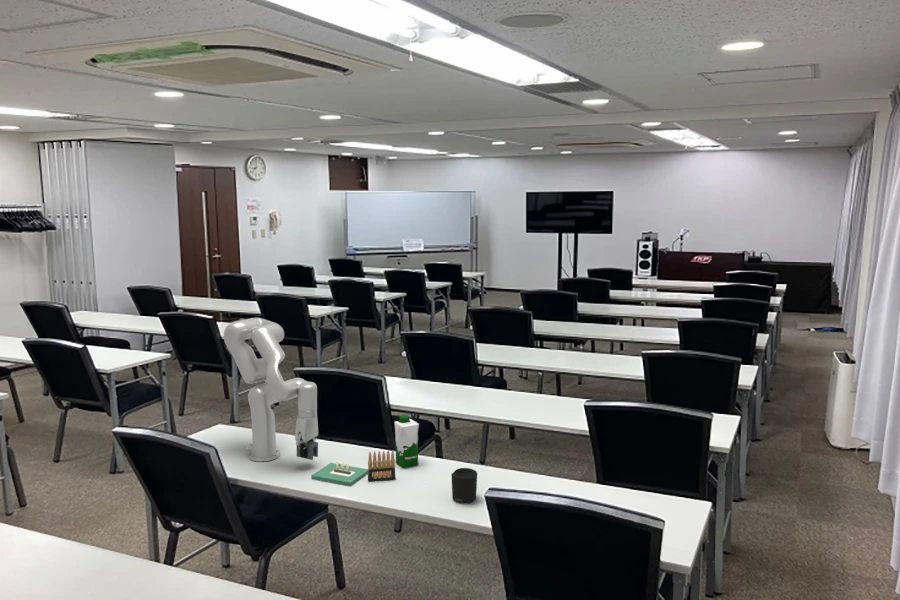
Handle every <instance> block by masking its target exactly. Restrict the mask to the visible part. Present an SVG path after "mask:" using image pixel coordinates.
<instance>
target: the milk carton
mask: <svg viewBox="0 0 900 600" xmlns="http://www.w3.org/2000/svg"><path fill="white" fill-rule="evenodd" d="M419 426H420V423H418V422H417V421H415V420H413V419H412V418H410V416H409V415H407V414H402V415H399V420H397V421H396V420H395V421H394V431H395V433H394V435H395V438H394V439H395V465H398V466H399V467H400V468H402V469H405V470H406V469H408V468H413V466H414V467H418V466H419V435H418V433H419V428H420V427H419ZM417 465H418V466H417Z"/></svg>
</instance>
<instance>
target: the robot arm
mask: <svg viewBox="0 0 900 600" xmlns="http://www.w3.org/2000/svg"><path fill="white" fill-rule="evenodd" d="M284 338H285V331H284V329H283V327H282V326H281V325H279V323H276V322H274V321H271V320H268V319H264V318H262V317H251V318H246V319H239V320H236V321H233V322H231V323H229V324H228V325H226V327H225V329H224V332H223V341H224V343H225V346H226V348H227V349H228V351H229V353H230V354H231V355H232V357H233V359H234V362H235V364H236V366H237V367H238V368H237V369H238V370H239V373H240V375H241V377H242V379H243V381H244V382H245V383H246V384H250V385H252V384H256V385H255V386H253V387H252V388H251V389H249V391H248V394H247V400H248V404H249V408H250V416H251V418H250V419H251V434H252V435H251V436H252V437H251V438H252V439H251V440H252V443H248V444H247V447H246V450H247V451H250V453H249V456H248V457H249V459H250V461H254V462H258V463H259V462H262V463H263V461H264V462H269V461H274V460H276V459H278V458H279V457H281V452H280V450H278V449H277V442H276V441H277V439H276V416H275V413H274V411H273V409H272V407H271V405H274V404H276V403H279V402H285V401H286V402H287V401H289V400H291V399H294V398H297V417H296V422H295V430H294V432H295V434H294V439H295V446H296V447H297V446H299V448H300V457H299V458H301V457H302V459H305V458H307V449H306V447H307V441H313V442H316V440H317V437H318V435H319V424H318V423H319V421H318V386H317V384H316V383H315V382H313V381H307V380H305V379H303V378H301V377H295V378H291V379H288V380H284V378H283V376H282V373H281V372H280V369H279V365H280V364H281V362H282V361H283V360H284V359H285V357H286V353H285V352H284V350H283V348H282V347H281V345H280V342H282V341H284V340H283V339H284ZM250 339H251V340H252V343H253V344H254V346H255V347H256V349H257V351H258V353H259V354H260V356H261V358H258V357H257V356H256V353H255V352H254V349H253V348H252V347H251V346H250V344H248V343H246V342H245V340H246V341H247V340H250ZM262 381H264V382H263V383H260V384H257V383H259V382H262ZM302 443H304V445H303V444H302Z"/></svg>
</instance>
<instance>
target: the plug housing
mask: <svg viewBox="0 0 900 600" xmlns="http://www.w3.org/2000/svg"><path fill="white" fill-rule="evenodd" d="M302 444H303V445H304V443H302ZM306 449H307V458H304V459H307V460H311V461H313V460H314V457H315V458H318V457H319V442H317V441H315V442H313V441H307V447H306ZM296 457H297V458H302V457H300V448H299V446H297V445H296ZM302 459H303V458H302Z"/></svg>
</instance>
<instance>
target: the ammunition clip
mask: <svg viewBox="0 0 900 600" xmlns="http://www.w3.org/2000/svg"><path fill="white" fill-rule="evenodd" d="M385 452H386V453H385ZM381 454H382V455H381ZM367 469H368V474H367V483H373V482H375V481H377V482H388V481H396V478H397V477H396V458H395V451H394V450H393V449H392V450H391V453H390V451H389V450H388V449H387V451H385V450H383V451H382V453H381V451H380V450H378V453H377V452H376V451H373V456H372V453H371V451H369V452H368V460H367ZM375 483H376V482H375Z"/></svg>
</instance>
